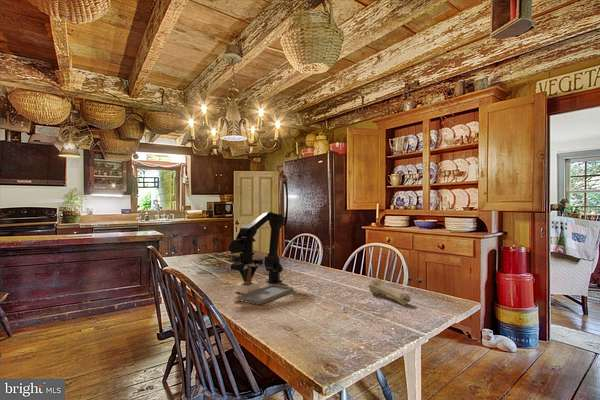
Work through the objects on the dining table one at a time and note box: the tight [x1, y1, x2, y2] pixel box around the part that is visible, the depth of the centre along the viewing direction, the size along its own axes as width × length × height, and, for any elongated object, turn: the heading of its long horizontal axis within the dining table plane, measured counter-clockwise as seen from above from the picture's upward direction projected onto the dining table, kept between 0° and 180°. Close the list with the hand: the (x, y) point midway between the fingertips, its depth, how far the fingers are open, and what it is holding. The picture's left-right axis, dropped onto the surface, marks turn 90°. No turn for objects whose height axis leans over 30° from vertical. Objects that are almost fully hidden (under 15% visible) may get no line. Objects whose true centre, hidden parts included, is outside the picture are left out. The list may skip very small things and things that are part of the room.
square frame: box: [234, 281, 261, 294], centre depth 161 cm, size 9×9×4 cm
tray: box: [237, 283, 294, 306], centre depth 154 cm, size 26×14×2 cm, turn 145°
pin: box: [243, 267, 253, 286], centre depth 161 cm, size 4×4×12 cm
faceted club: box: [367, 277, 411, 306], centre depth 146 cm, size 9×8×25 cm
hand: (247, 280), depth 161 cm, fingers closed on pin, 4 cm apart
